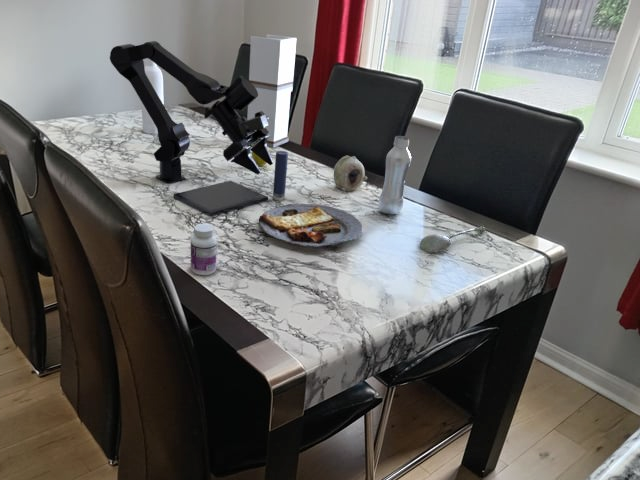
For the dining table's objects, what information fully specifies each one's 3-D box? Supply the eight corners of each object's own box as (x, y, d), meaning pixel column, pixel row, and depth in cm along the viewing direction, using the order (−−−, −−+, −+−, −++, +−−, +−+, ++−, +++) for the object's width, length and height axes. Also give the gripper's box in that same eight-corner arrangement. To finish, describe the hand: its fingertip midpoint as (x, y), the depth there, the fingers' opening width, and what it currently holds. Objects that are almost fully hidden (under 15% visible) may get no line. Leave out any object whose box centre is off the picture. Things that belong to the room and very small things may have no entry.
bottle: (162, 134, 209) (160, 46, 195) (140, 133, 209) (137, 44, 195) (165, 129, 216) (163, 43, 202) (144, 128, 216) (141, 42, 202)
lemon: (267, 170, 180) (268, 145, 176) (249, 168, 180) (250, 143, 177) (270, 165, 184) (271, 140, 180) (253, 163, 185) (254, 138, 181)
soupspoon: (412, 247, 137) (434, 259, 132) (415, 235, 135) (437, 247, 130) (471, 227, 148) (493, 237, 143) (474, 215, 146) (497, 225, 141)
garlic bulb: (332, 194, 171) (323, 162, 167) (348, 184, 175) (341, 152, 172) (357, 194, 164) (349, 160, 160) (374, 183, 168) (367, 150, 165)
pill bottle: (190, 263, 122) (190, 221, 117) (216, 264, 122) (216, 222, 118) (190, 276, 117) (190, 232, 112) (216, 276, 118) (217, 232, 113)
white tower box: (288, 141, 211) (296, 37, 193) (273, 147, 203) (280, 40, 186) (261, 135, 216) (267, 34, 199) (246, 141, 208) (250, 36, 191)
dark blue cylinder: (270, 198, 158) (273, 152, 152) (278, 196, 160) (282, 150, 154) (278, 202, 156) (282, 155, 150) (286, 199, 158) (290, 153, 152)
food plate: (288, 259, 126) (290, 245, 124) (241, 220, 144) (242, 207, 142) (379, 242, 137) (381, 228, 135) (325, 207, 154) (326, 195, 153)
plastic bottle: (402, 210, 156) (416, 136, 146) (399, 218, 150) (414, 142, 141) (378, 206, 158) (391, 133, 148) (375, 214, 152) (387, 139, 142)
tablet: (173, 197, 155) (173, 193, 155) (230, 183, 167) (230, 180, 167) (210, 216, 145) (210, 212, 145) (268, 200, 157) (268, 196, 157)
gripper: (236, 109, 142) (274, 160, 144) (264, 96, 157) (298, 143, 159) (206, 135, 148) (243, 184, 150) (237, 121, 163) (270, 166, 165)
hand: (265, 168), depth 156 cm, fingers open, 9 cm apart
